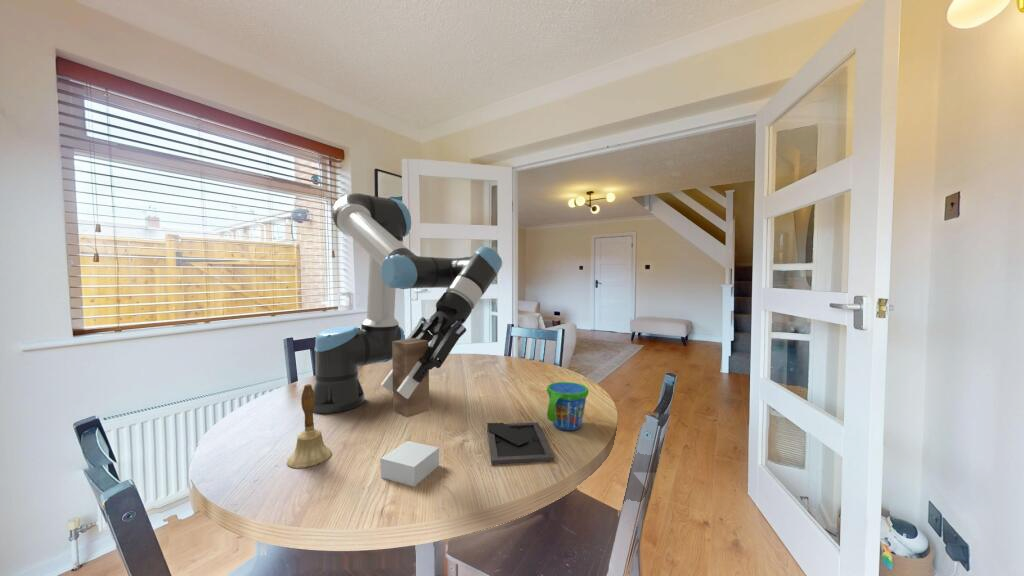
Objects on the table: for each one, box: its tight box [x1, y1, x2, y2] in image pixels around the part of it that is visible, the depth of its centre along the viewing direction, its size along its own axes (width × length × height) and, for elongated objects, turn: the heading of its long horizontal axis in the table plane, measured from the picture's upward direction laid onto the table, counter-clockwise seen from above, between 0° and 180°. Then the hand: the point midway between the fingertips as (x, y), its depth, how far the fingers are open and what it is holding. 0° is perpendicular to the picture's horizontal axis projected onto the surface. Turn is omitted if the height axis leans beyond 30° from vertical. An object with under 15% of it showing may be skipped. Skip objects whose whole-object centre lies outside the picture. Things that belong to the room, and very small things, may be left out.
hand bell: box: [286, 383, 333, 469], centre depth 74 cm, size 8×8×16 cm
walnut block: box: [391, 338, 430, 419], centre depth 69 cm, size 5×5×14 cm
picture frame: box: [486, 421, 555, 466], centre depth 81 cm, size 13×2×18 cm
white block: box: [380, 440, 440, 487], centre depth 70 cm, size 8×8×4 cm
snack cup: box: [546, 381, 590, 431], centre depth 91 cm, size 16×10×10 cm
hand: (394, 391), depth 66 cm, fingers closed on walnut block, 5 cm apart
